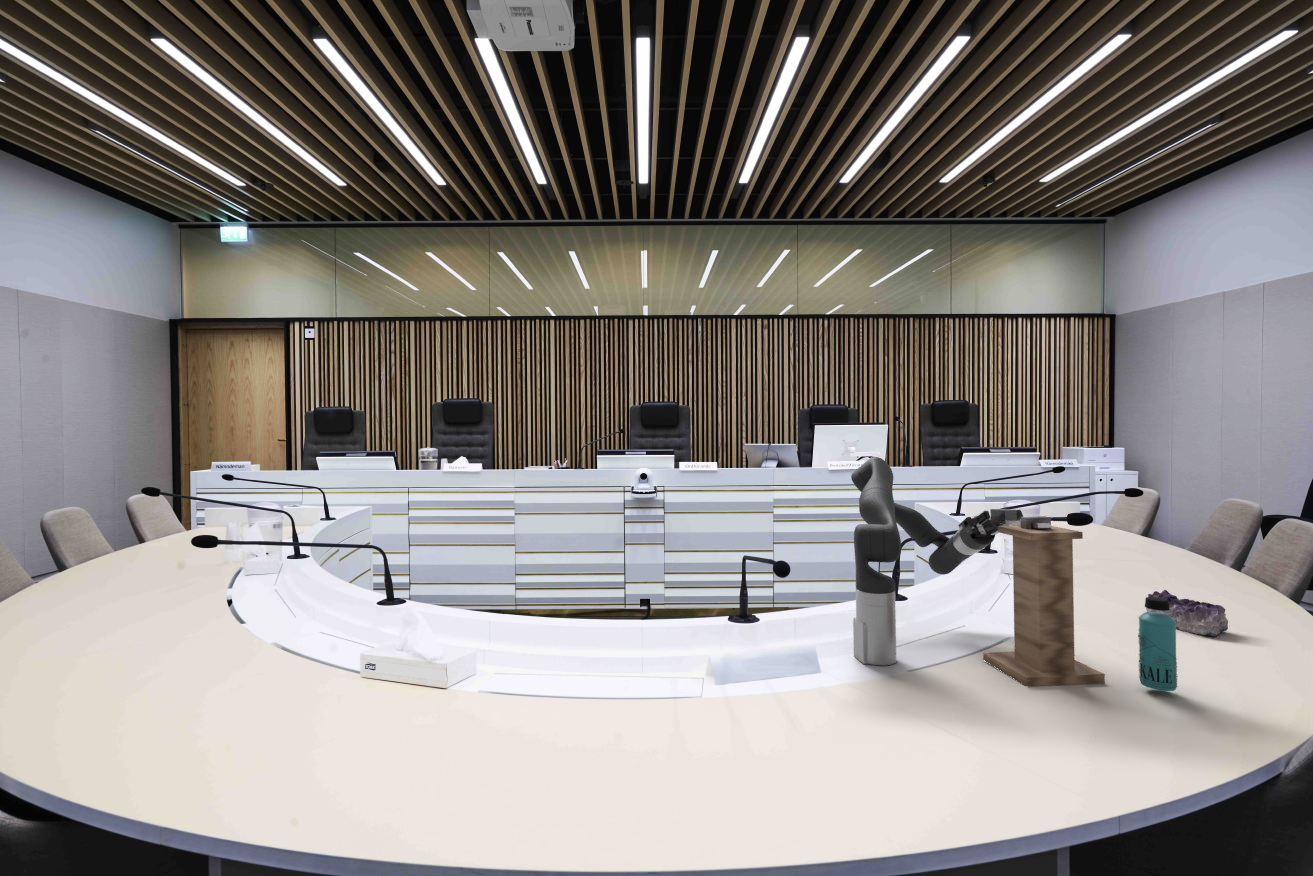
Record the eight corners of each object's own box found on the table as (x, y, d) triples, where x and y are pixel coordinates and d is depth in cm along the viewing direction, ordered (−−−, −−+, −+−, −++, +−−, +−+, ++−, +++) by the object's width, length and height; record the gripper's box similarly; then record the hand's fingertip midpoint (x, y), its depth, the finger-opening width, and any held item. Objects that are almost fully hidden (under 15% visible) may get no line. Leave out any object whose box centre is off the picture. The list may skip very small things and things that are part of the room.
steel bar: (1038, 527, 144) (1037, 512, 144) (991, 522, 162) (990, 509, 162) (1050, 527, 144) (1049, 512, 145) (1002, 522, 162) (1001, 508, 162)
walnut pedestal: (1026, 686, 138) (1023, 523, 138) (983, 660, 153) (980, 514, 154) (1104, 683, 139) (1102, 521, 139) (1053, 658, 155) (1051, 512, 155)
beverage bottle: (1163, 686, 136) (1162, 594, 136) (1186, 699, 130) (1184, 602, 130) (1131, 686, 137) (1129, 593, 137) (1152, 698, 130) (1150, 601, 130)
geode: (1130, 620, 186) (1132, 585, 186) (1159, 621, 189) (1160, 587, 190) (1208, 638, 166) (1210, 599, 167) (1239, 639, 169) (1240, 601, 170)
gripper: (944, 525, 174) (972, 500, 160) (993, 523, 175) (1026, 499, 161) (951, 551, 170) (981, 528, 156) (1002, 549, 171) (1036, 526, 157)
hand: (1004, 513), depth 159 cm, fingers open, 8 cm apart
